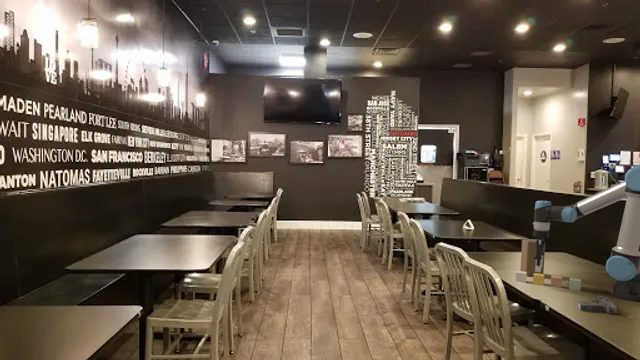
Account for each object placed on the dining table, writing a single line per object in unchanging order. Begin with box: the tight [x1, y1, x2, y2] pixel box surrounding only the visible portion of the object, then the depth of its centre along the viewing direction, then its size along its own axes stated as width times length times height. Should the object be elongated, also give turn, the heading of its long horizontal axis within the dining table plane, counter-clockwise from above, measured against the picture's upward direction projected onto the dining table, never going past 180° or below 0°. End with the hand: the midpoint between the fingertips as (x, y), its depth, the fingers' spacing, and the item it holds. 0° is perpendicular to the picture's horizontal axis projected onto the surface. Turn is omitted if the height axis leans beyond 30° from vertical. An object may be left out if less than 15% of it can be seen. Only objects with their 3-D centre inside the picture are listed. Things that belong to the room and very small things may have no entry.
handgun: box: [577, 295, 620, 315], centre depth 205 cm, size 4×20×15 cm
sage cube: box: [568, 277, 582, 292], centre depth 234 cm, size 5×5×5 cm
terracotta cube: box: [550, 275, 563, 289], centre depth 238 cm, size 5×5×5 cm
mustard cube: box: [532, 273, 545, 286], centre depth 242 cm, size 5×5×5 cm
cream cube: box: [515, 270, 528, 284], centre depth 247 cm, size 5×5×5 cm
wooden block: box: [519, 238, 546, 277], centre depth 263 cm, size 10×10×20 cm
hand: (538, 269), depth 242 cm, fingers open, 13 cm apart
